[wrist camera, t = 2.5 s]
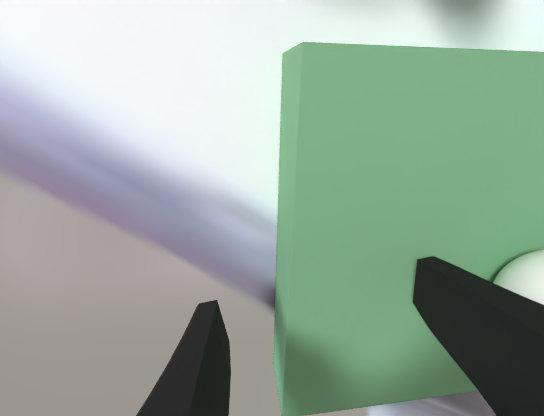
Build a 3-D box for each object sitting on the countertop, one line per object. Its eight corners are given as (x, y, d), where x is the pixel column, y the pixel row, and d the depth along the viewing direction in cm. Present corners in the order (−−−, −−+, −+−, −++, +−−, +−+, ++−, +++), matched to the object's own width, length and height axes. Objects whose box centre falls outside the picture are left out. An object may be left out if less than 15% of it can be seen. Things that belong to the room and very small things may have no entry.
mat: (790, 71, 13) (1024, 66, 9) (610, 324, 19) (702, 383, 16) (282, 53, 10) (315, 34, 6) (273, 363, 16) (286, 447, 12)
